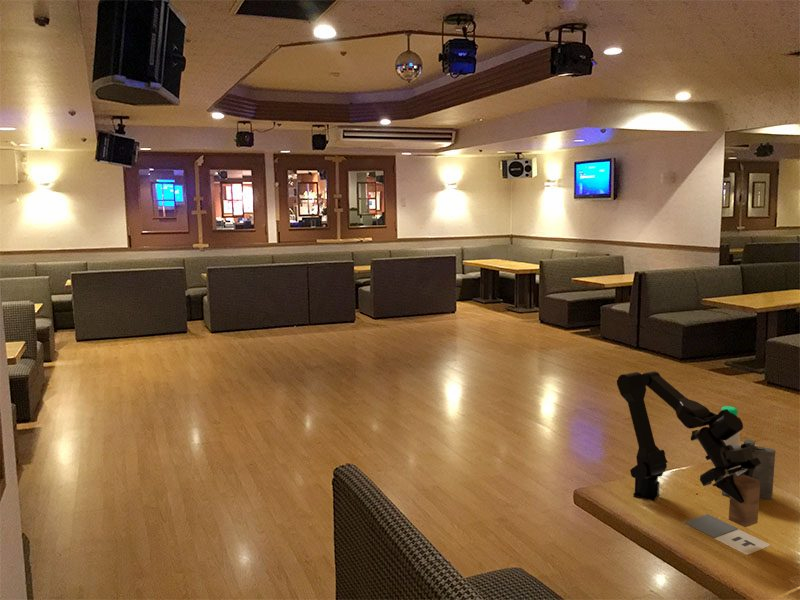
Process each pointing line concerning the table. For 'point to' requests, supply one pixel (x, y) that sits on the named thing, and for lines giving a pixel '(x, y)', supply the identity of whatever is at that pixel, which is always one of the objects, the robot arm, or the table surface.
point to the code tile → (742, 541)
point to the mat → (710, 525)
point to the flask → (762, 470)
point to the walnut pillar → (745, 501)
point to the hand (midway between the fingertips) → (749, 500)
